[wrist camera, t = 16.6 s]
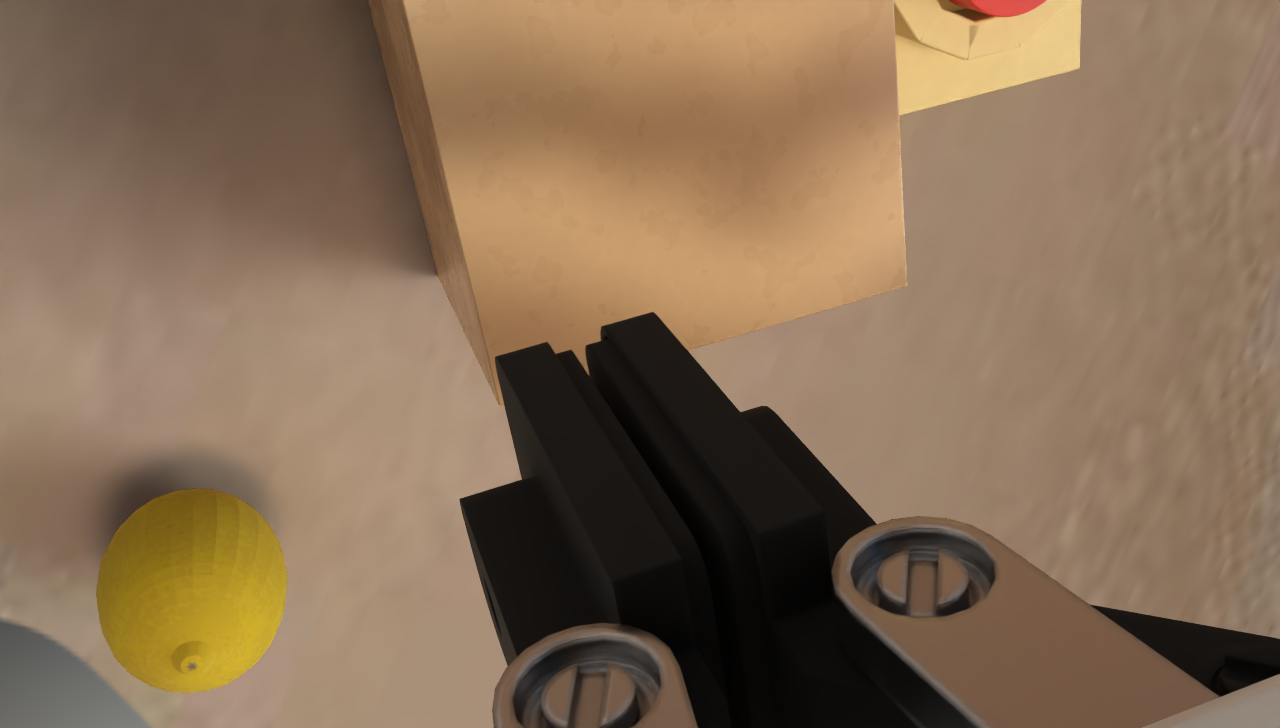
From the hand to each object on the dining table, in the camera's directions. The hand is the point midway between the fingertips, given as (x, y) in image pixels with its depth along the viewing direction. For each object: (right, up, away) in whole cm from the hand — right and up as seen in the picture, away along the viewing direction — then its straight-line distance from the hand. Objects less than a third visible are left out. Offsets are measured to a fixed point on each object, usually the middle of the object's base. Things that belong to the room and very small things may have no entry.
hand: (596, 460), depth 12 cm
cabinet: (-2, +11, +26) cm, 28 cm away
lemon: (-15, -4, +29) cm, 32 cm away
